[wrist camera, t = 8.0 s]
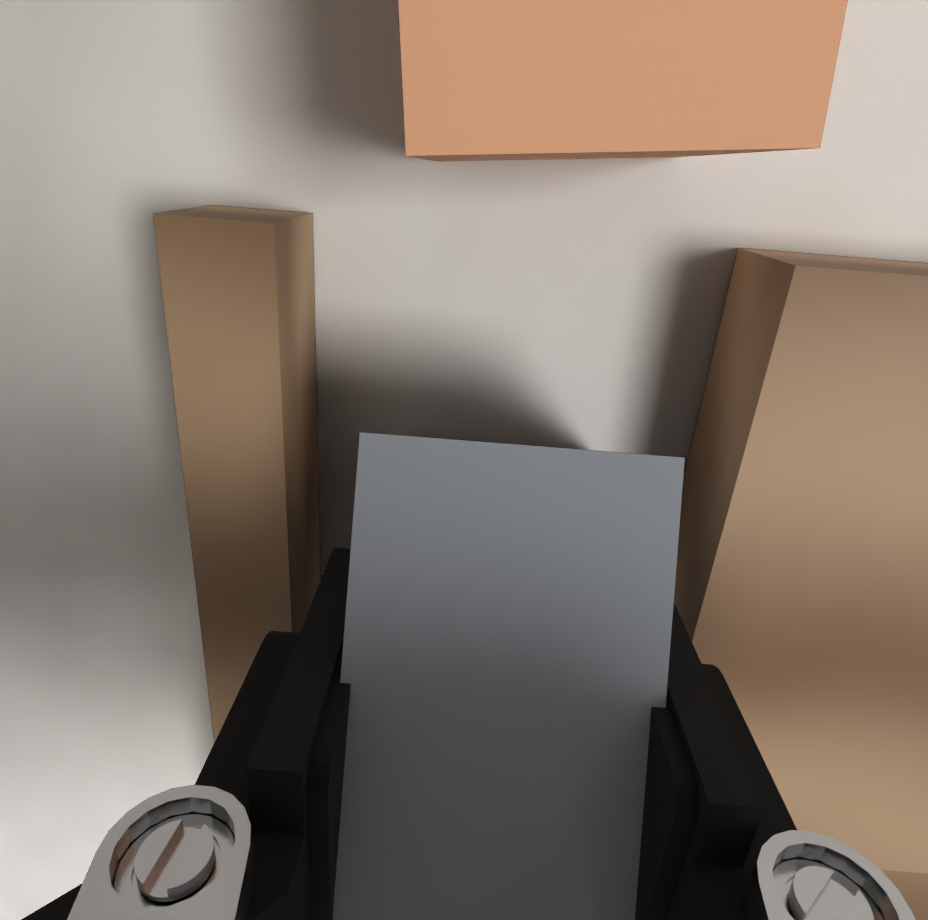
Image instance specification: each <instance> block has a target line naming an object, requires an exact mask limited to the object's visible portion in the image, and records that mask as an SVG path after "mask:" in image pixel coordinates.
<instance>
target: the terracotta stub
mask: <svg viewBox="0 0 928 920" xmlns="http://www.w3.org/2000/svg"><path fill="white" fill-rule="evenodd" d="M847 2H848V0H398V4H399V24H400V45H401V66H402V87H403V107H404V128H405V149H406V156H410V157H416V158H422V159H428V160H434V161H482V160H536V159H590V158H644V157H685V156H701V155H717V154H733V153H749V152H765V151H781V150H797V149H813V148H820V146H821V140H822V135H823V130H824V124H825V119H826V114H827V108H828V103H829V98H830V92H831V87H832V82H833V76H834V71H835V66H836V60H837V55H838V50H839V44H840V39H841V34H842V28H843V23H844V18H845V12H846V7H847Z"/></svg>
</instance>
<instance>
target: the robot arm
mask: <svg viewBox="0 0 928 920" xmlns="http://www.w3.org/2000/svg"><path fill="white" fill-rule="evenodd" d="M350 551H351V549H346V548H334V549H333V551H332V553H331V555H330V558H329V560H328V563H327V565H326V568H325V571H324V573H323V576H322V578H321V581H320V583H319V586H318V588H317V591H316V593H315V596H314V598H313V601H312V603H311V606H310V608H309V611H308V613H307V616H306V618H305V621H304V623H303V626H302V628H301V631H300V633H293V632H280V631H270V632H269V633H267V634H266V636H265V638H264V640H263V641H262V643H261V645H260V648H259V650H258V652H257V654H256V656H255V658H254V660H253V662H252V665H251V667H250V669H249V671H248V673H247V675H246V677H245V679H244V682H243V684H242V686H241V688H240V690H239V692H238V694H237V696H236V699H235V701H234V703H233V705H232V707H231V709H230V711H229V713H228V716H227V718H226V720H225V722H224V724H223V726H222V728H221V730H220V732H219V735H218V737H217V739H216V741H215V743H214V745H213V747H212V749H211V752H210V754H209V756H208V758H207V760H206V762H205V764H204V766H203V769H202V771H201V773H200V775H199V777H198V779H197V781H196V783H195V785H190V786H184V787H178V788H172V789H169V790H167V791H164V792H162V793H159V794H157V795H154V796H152V797H149V798H147V799H146V800H144V801H143V802H141V803H140V804H138V805H137V806H135V807H134V808H132V809H131V810H129V811H128V812H127V813H126V814H125V815H124V816H123V817H122V818H121V819H120V820H119V821H118V822H117V823H116V824H115V825H114V826H113V827H112V828H111V829H110V830H109V831H108V833H107V835H106V836H105V838H104V840H103V841H102V843H101V845H100V846H99V848H98V850H97V851H96V853H95V856H94V858H93V860H92V863H91V865H90V867H89V870H88V872H87V874H86V877H85V879H84V881H83V883H82V884H81V885H79V886H77V887H76V888H74V889H72V890H71V891H69V892H67V893H66V894H64V895H62V896H60V897H59V898H57V899H55V900H54V901H52V902H50V903H49V904H47V905H45V906H44V907H42V908H40V909H39V910H37V911H35V912H33V913H32V914H30V915H28V916H27V917H25V918H23V919H22V920H332V918H333V905H334V892H335V879H336V866H337V854H338V841H339V828H340V815H341V802H342V790H343V777H344V764H345V751H346V738H347V725H348V713H349V700H350V687H351V684H350V683H340V679H341V666H342V653H343V640H344V628H345V615H346V602H347V589H348V576H349V563H350ZM635 920H916V919H915V917H914V915H913V913H912V911H911V910H910V908H909V906H908V905H907V903H906V901H905V900H904V898H903V896H902V895H901V893H900V891H899V890H898V889H897V887H896V886H895V885H894V884H893V883H892V882H891V881H890V880H889V879H888V878H887V876H886V875H885V874H884V873H883V872H882V871H881V870H880V869H879V868H878V867H877V866H876V865H874V864H873V863H872V862H871V861H869V860H868V859H867V858H865V857H864V856H863V855H862V854H860V853H859V852H858V851H856V850H855V849H853V848H851V847H849V846H847V845H845V844H843V843H842V842H840V841H838V840H836V839H834V838H832V837H828V836H825V835H822V834H819V833H815V832H812V831H800V830H797V828H796V826H795V824H794V822H793V820H792V818H791V816H790V814H789V812H788V809H787V807H786V805H785V803H784V801H783V799H782V797H781V795H780V793H779V791H778V789H777V787H776V784H775V782H774V780H773V778H772V776H771V774H770V772H769V770H768V768H767V766H766V764H765V761H764V759H763V757H762V755H761V753H760V751H759V749H758V747H757V745H756V743H755V741H754V738H753V736H752V734H751V732H750V730H749V728H748V726H747V724H746V722H745V720H744V718H743V716H742V713H741V711H740V709H739V707H738V705H737V703H736V701H735V699H734V697H733V695H732V693H731V690H730V688H729V686H728V684H727V682H726V680H725V678H724V676H723V674H722V673H721V671H720V670H719V668H717V667H716V666H714V665H712V664H702V663H701V661H700V659H699V657H698V655H697V652H696V650H695V648H694V646H693V643H692V641H691V639H690V637H689V634H688V632H687V630H686V628H685V625H684V623H683V621H682V619H681V616H680V614H679V612H678V610H677V607H676V605H675V603H674V604H673V617H672V630H671V643H670V656H669V669H668V682H667V695H666V708H663V707H651V719H650V732H649V744H648V757H647V770H646V783H645V796H644V809H643V822H642V834H641V847H640V860H639V873H638V886H637V899H636V912H635Z"/></svg>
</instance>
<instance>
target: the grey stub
mask: <svg viewBox="0 0 928 920" xmlns="http://www.w3.org/2000/svg"><path fill="white" fill-rule="evenodd" d="M684 462H685V458H684V457H671V456H658V455H645V454H632V453H619V452H607V451H594V450H581V449H568V448H555V447H542V446H530V445H517V444H504V443H491V442H478V441H465V440H453V439H440V438H427V437H414V436H401V435H388V434H376V433H363V432H360V435H359V448H358V461H357V474H356V487H355V499H354V512H353V525H352V538H351V551H350V563H349V576H348V589H347V602H346V615H345V628H344V640H343V653H342V666H341V679H340V683H350V684H351V687H350V700H349V713H348V725H347V738H346V751H345V764H344V777H343V790H342V802H341V815H340V828H339V841H338V854H337V866H336V879H335V892H334V905H333V918H332V920H635V912H636V899H637V886H638V873H639V860H640V847H641V834H642V822H643V809H644V796H645V783H646V770H647V757H648V744H649V732H650V719H651V707H663V708H666V695H667V682H668V669H669V656H670V643H671V630H672V617H673V604H674V591H675V578H676V566H677V553H678V540H679V527H680V514H681V501H682V488H683V475H684Z"/></svg>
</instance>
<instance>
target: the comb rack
mask: <svg viewBox="0 0 928 920" xmlns="http://www.w3.org/2000/svg"><path fill="white" fill-rule="evenodd" d="M153 218H154V226H155V235H156V244H157V252H158V261H159V270H160V278H161V287H162V296H163V304H164V313H165V322H166V330H167V339H168V348H169V356H170V365H171V374H172V382H173V391H174V400H175V408H176V417H177V425H178V434H179V443H180V451H181V460H182V469H183V477H184V486H185V495H186V503H187V512H188V521H189V529H190V538H191V547H192V555H193V564H194V573H195V581H196V590H197V599H198V607H199V616H200V625H201V633H202V642H203V651H204V659H205V668H206V676H207V685H208V694H209V702H210V711H211V720H212V728H213V737H214V743H215V741H216V739H217V737H218V735H219V732H220V730H221V728H222V726H223V724H224V722H225V720H226V718H227V716H228V713H229V711H230V709H231V707H232V705H233V703H234V701H235V699H236V696H237V694H238V692H239V690H240V688H241V686H242V684H243V682H244V679H245V677H246V675H247V673H248V671H249V669H250V667H251V665H252V662H253V660H254V658H255V656H256V654H257V652H258V650H259V648H260V645H261V643H262V641H263V640H264V638H265V636H266V634H267V633H269V632H270V631H280V632H293V633H300V631H301V628H302V626H303V623H304V621H305V618H306V616H307V613H308V611H309V608H310V606H311V603H312V601H313V598H314V596H315V593H316V591H317V588H318V586H319V583H320V537H319V488H318V438H317V389H316V340H315V291H314V242H313V213H305V212H292V211H280V210H268V209H255V208H243V207H231V206H218V205H212V206H205V207H197V208H190V209H183V210H175V211H168V212H161V213H153ZM674 603H675V605H676V607H677V610H678V612H679V614H680V616H681V619H682V621H683V623H684V625H685V628H686V630H687V632H688V634H689V637H690V639H691V641H692V643H693V646H694V648H695V650H696V652H697V655H698V657H699V659H700V661H701V663H702V664H712V665H714V666H716V667H717V668H719V670H720V671H721V673H722V674H723V676H724V678H725V680H726V682H727V684H728V686H729V688H730V690H731V693H732V695H733V697H734V699H735V701H736V703H737V705H738V707H739V709H740V711H741V713H742V716H743V718H744V720H745V722H746V724H747V726H748V728H749V730H750V732H751V734H752V736H753V738H754V741H755V743H756V745H757V747H758V749H759V751H760V753H761V755H762V757H763V759H764V761H765V764H766V766H767V768H768V770H769V772H770V774H771V776H772V778H773V780H774V782H775V784H776V787H777V789H778V791H779V793H780V795H781V797H782V799H783V801H784V803H785V805H786V807H787V809H788V812H789V814H790V816H791V818H792V820H793V822H794V824H795V826H796V828H797V830H800V831H812V832H815V833H819V834H822V835H825V836H828V837H832V838H834V839H836V840H838V841H840V842H842V843H843V844H845V845H847V846H849V847H851V848H853V849H855V850H856V851H858V852H859V853H860V854H862V855H863V856H864V857H865V858H867V859H868V860H869V861H871V862H872V863H873V864H874V865H876V866H877V867H878V868H879V869H880V870H881V871H882V872H883V873H884V874H885V875H886V876H887V878H888V879H889V880H890V881H891V882H892V883H893V884H894V885H895V886H896V887H897V889H898V890H899V891H900V893H901V895H902V896H903V898H904V900H905V901H906V903H907V905H908V906H909V908H910V910H911V911H912V913H913V915H914V917H915V919H916V920H928V263H920V262H908V261H895V260H883V259H871V258H858V257H846V256H834V255H821V254H809V253H797V252H785V251H772V250H760V249H748V248H738V252H737V256H736V260H735V264H734V268H733V273H732V277H731V281H730V285H729V289H728V294H727V298H726V302H725V306H724V310H723V315H722V319H721V323H720V327H719V331H718V336H717V340H716V344H715V348H714V352H713V357H712V361H711V365H710V369H709V373H708V378H707V382H706V386H705V390H704V395H703V399H702V403H701V407H700V411H699V416H698V420H697V424H696V428H695V432H694V437H693V441H692V445H691V449H690V453H689V458H688V462H687V466H686V470H685V474H684V479H683V488H682V501H681V514H680V527H679V540H678V553H677V566H676V578H675V591H674Z"/></svg>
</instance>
